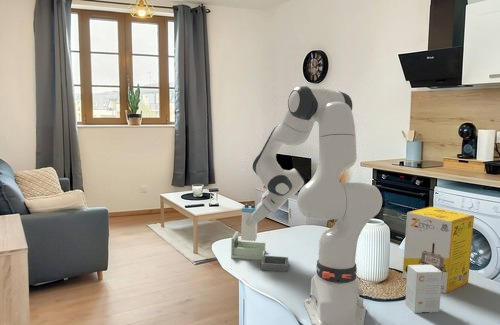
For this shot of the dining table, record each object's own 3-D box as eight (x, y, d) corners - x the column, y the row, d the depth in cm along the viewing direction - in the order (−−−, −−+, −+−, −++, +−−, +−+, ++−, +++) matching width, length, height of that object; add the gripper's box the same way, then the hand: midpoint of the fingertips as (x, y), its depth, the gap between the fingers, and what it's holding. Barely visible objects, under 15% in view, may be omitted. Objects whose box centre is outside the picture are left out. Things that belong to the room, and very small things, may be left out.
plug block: (255, 241, 169) (256, 206, 167) (241, 240, 169) (241, 205, 167) (256, 237, 173) (257, 203, 172) (242, 236, 174) (243, 202, 172)
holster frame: (287, 271, 153) (287, 265, 153) (260, 269, 155) (260, 263, 154) (288, 263, 162) (288, 257, 162) (263, 261, 164) (263, 255, 163)
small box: (428, 303, 130) (431, 264, 128) (439, 312, 124) (443, 271, 122) (404, 303, 129) (407, 264, 128) (414, 313, 123) (417, 272, 121)
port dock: (262, 260, 165) (262, 241, 164) (231, 257, 167) (231, 239, 166) (265, 250, 177) (265, 232, 176) (236, 248, 179) (236, 230, 178)
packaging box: (402, 278, 150) (406, 211, 147) (425, 268, 160) (430, 206, 157) (445, 293, 137) (451, 221, 134) (468, 282, 147) (474, 215, 144)
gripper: (268, 189, 178) (246, 210, 181) (264, 199, 158) (238, 222, 161) (278, 200, 178) (256, 220, 181) (275, 211, 158) (249, 234, 161)
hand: (247, 221), depth 171 cm, fingers closed on plug block, 5 cm apart
